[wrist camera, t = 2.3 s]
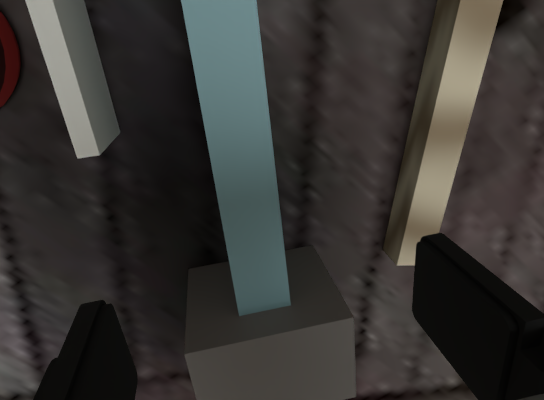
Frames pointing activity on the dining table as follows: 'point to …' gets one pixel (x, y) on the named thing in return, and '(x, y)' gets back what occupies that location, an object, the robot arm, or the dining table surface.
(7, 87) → the canned food
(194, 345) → the teal gray angled bar
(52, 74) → the bay
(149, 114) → the dining table surface
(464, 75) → the stick
